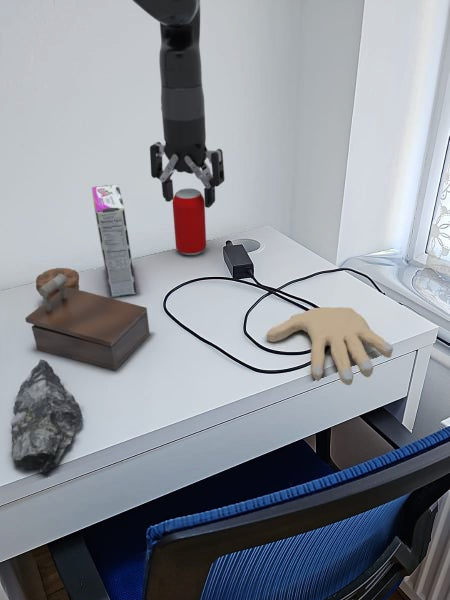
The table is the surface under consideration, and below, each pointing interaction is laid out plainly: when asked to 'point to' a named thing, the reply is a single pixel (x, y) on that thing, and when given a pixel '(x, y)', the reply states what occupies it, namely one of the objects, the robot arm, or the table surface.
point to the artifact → (48, 275)
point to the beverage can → (189, 221)
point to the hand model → (335, 339)
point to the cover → (84, 313)
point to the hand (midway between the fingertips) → (188, 203)
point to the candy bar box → (114, 239)
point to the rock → (43, 419)
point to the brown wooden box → (92, 345)
